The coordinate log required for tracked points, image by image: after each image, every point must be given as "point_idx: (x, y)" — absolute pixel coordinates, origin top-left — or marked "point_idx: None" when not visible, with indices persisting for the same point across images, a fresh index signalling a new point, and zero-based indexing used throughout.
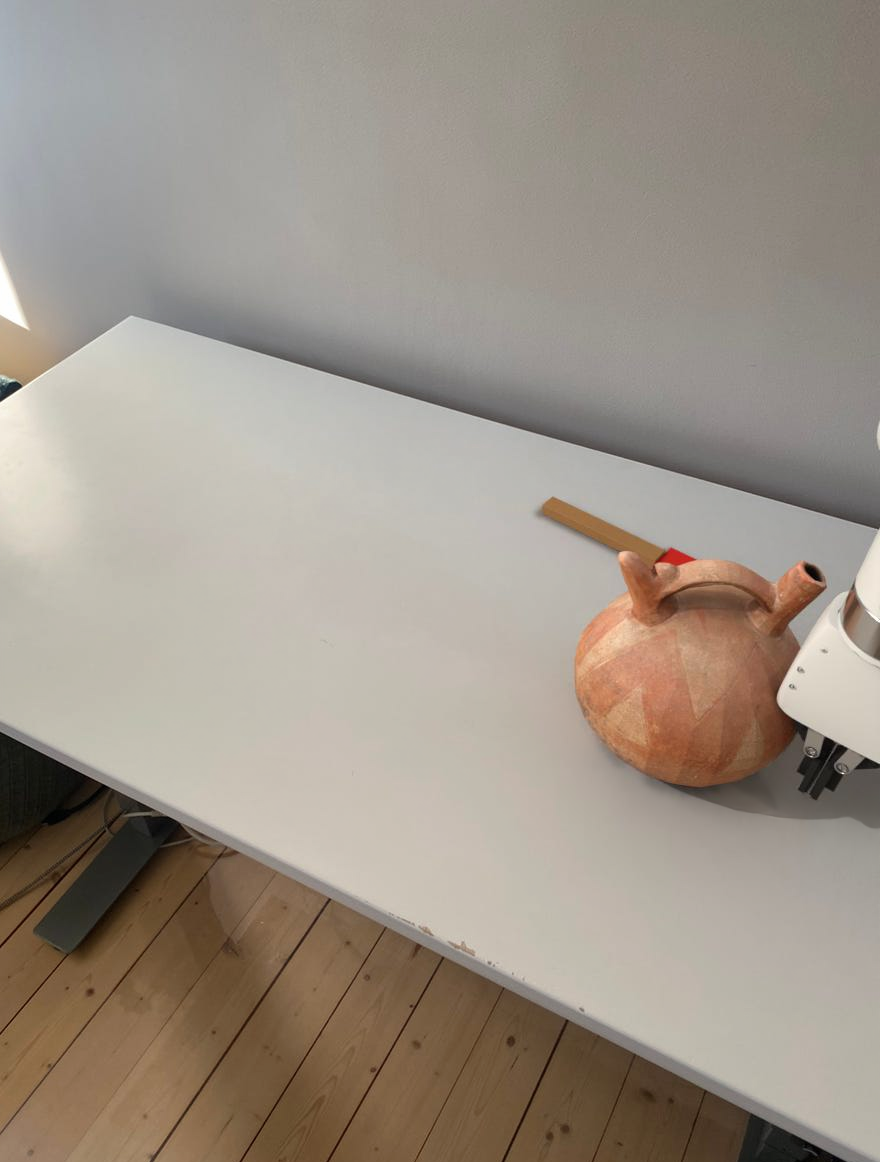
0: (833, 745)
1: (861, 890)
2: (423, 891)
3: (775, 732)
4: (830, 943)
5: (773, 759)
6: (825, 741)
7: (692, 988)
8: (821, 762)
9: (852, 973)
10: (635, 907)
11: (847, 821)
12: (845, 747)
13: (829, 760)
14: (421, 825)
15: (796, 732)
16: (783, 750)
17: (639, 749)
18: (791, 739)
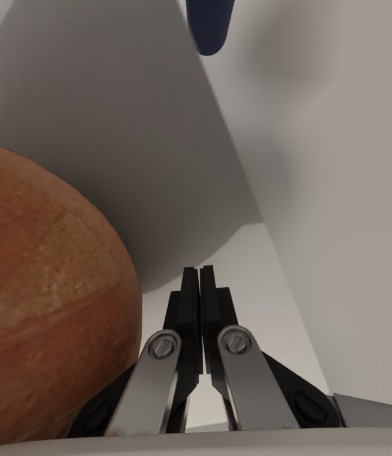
0: (195, 331)
1: (281, 286)
2: None
3: None
4: (276, 334)
5: (140, 343)
6: (181, 389)
7: (216, 398)
8: (198, 371)
9: (297, 342)
10: None
11: (243, 231)
12: (222, 374)
13: (207, 362)
14: None
15: (126, 363)
16: (139, 330)
17: None
18: (132, 354)
